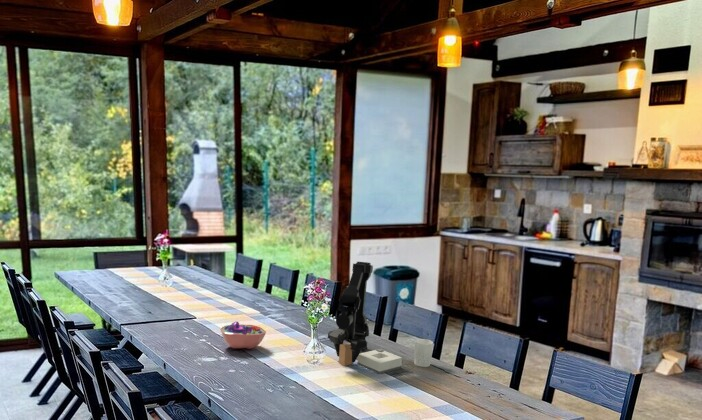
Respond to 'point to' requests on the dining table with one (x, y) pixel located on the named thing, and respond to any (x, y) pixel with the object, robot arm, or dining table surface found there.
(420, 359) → the white cup
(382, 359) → the socket plate
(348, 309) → the robot arm
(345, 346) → the plug
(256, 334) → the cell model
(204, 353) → the dining table surface
